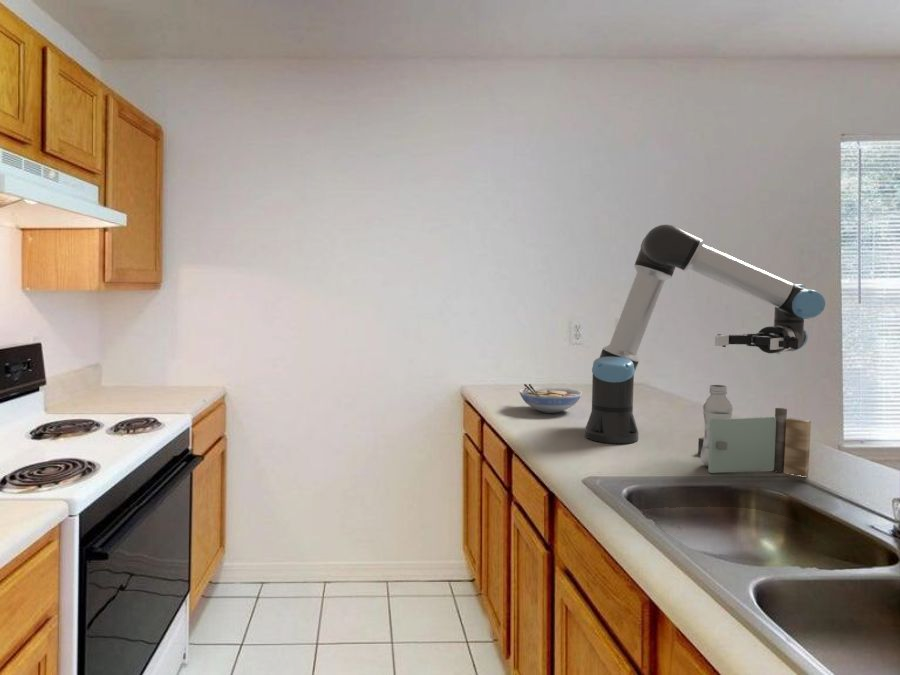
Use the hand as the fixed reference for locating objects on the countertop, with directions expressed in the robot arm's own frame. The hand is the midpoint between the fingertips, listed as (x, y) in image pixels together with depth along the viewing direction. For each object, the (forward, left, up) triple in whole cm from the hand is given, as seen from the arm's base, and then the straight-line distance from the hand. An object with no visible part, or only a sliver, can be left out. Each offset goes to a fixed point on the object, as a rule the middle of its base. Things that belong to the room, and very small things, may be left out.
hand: (743, 342), depth 146 cm
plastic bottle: (-10, -10, -30) cm, 33 cm away
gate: (-5, -15, -29) cm, 33 cm away
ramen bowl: (-43, +57, -30) cm, 78 cm away
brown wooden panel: (0, -6, -30) cm, 30 cm away
